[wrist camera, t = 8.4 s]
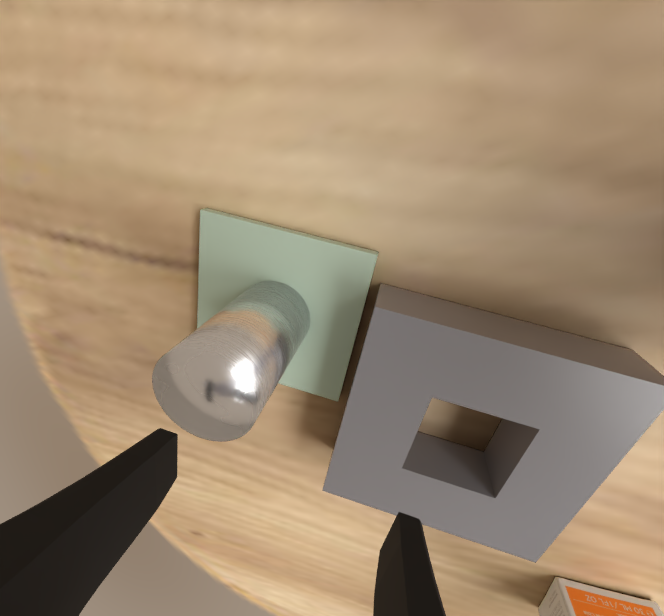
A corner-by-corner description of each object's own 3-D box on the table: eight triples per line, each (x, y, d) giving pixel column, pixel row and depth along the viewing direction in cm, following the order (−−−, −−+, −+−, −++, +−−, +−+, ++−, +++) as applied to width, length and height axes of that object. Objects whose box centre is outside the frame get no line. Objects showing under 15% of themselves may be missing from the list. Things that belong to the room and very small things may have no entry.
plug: (323, 305, 17) (274, 386, 11) (292, 360, 19) (235, 458, 13) (254, 266, 17) (166, 327, 11) (230, 325, 19) (142, 406, 13)
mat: (378, 252, 16) (377, 255, 16) (340, 395, 20) (338, 401, 20) (206, 208, 17) (200, 209, 17) (201, 352, 21) (196, 358, 21)
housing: (633, 350, 16) (679, 390, 13) (519, 510, 21) (535, 562, 18) (380, 283, 17) (375, 306, 14) (333, 450, 22) (322, 490, 19)
